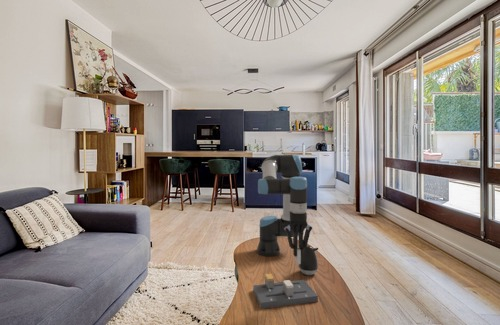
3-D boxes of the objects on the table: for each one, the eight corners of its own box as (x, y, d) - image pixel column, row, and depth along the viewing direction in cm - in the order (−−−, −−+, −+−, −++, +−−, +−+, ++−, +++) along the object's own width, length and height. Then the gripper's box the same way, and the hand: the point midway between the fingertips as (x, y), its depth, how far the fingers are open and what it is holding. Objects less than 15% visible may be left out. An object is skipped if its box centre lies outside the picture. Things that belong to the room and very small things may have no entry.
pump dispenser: (318, 278, 139) (319, 249, 138) (298, 276, 141) (298, 248, 140) (317, 269, 149) (317, 243, 148) (298, 268, 151) (299, 241, 150)
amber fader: (265, 283, 128) (265, 274, 128) (271, 282, 128) (271, 273, 128) (267, 288, 123) (267, 278, 123) (274, 288, 124) (274, 278, 123)
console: (253, 290, 127) (253, 285, 127) (304, 284, 132) (304, 279, 132) (260, 308, 112) (260, 302, 112) (317, 301, 117) (317, 295, 117)
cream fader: (283, 290, 121) (283, 280, 121) (289, 289, 122) (289, 279, 122) (286, 296, 116) (286, 286, 116) (293, 295, 117) (293, 285, 117)
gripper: (287, 214, 114) (287, 268, 115) (315, 212, 116) (314, 265, 118) (281, 210, 121) (281, 260, 123) (308, 208, 123) (308, 258, 125)
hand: (297, 262), depth 120 cm, fingers closed
